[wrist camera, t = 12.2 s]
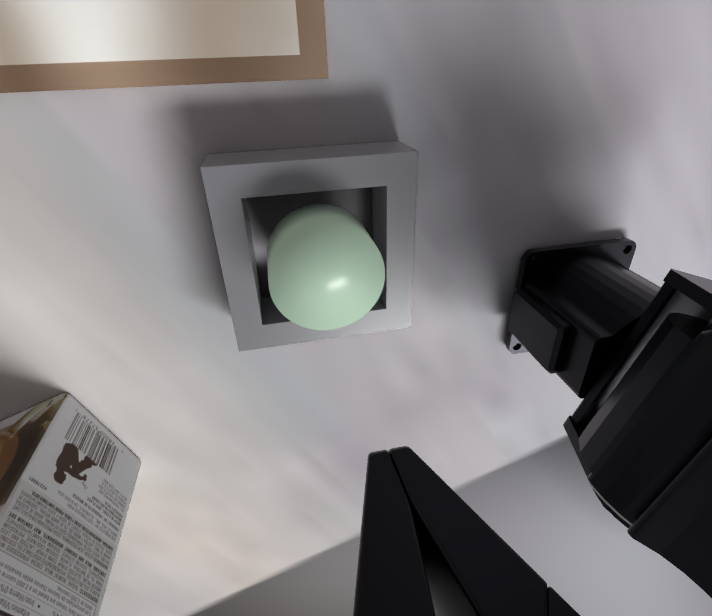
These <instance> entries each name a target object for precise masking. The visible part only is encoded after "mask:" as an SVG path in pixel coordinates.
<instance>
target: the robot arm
mask: <svg viewBox="0 0 712 616" xmlns="http://www.w3.org/2000/svg"><path fill="white" fill-rule="evenodd" d="M625 247H626V248H625ZM624 248H625V249H624ZM635 249H636V243H635V242H634V241H632V240H630V239H628V238H622V239H613V240H605V241H596V242H587V243H579V244H570V245H561V246H553V247H544V248H536V249H530V250H528V251H526V252H525V253H524V254H523V256H522V259H521V264H520V270H519V275H518V281H517V286H516V290H515V292H514V296H513V302H512V307H511V313H510V318H509V324H508V336H507V341H506V347H507V349H508V350H509V351H510V352H511V353H513V354H517V353H523V352H530V353H531V354H532V355H533V357H534V358H535V359H536V360H537V361H538V362H539V363H540V364H541V365H542V366H543V367H544V368H545V369H546V370H547V371H548V372H549V373H550V374H551V373H556V374H557V375H558V376H559V377H560V378H561V379H562V380H563V381H564V382H565V383H566V384H567V385H568V386H569V387H570V388H571V389H572V390H573V391H574V393H575V394H576V395H577V396H578V397H579V398H584V399H583V401H582V402H581V403H580V405H579V406H578V408H577V409H576V411H575V412H574V413H573V415H572V416H569V417H568V418H567V420H566V421H565V423H564V424H563V426H564V428H565V430H566V432H567V434H568V437H569V439H570V441H571V443H572V445H573V447H574V449H575V451H576V454H577V456H578V458H579V460H580V462H581V465H582V467H583V469H584V471H585V473H586V475H587V478H588V480H589V483H590V485H591V487H592V488H593V490H594V492H595V494H596V495H597V497H598V499H599V500H600V501H601V503H602V504H603V506H604V507H605V508H606V509H607V510H608V511H609V512H610V513H612V515H613V516H614V517H615V518H616V519H618V520H619V521H620V522H621V523H622V524H624V525H625V526H626V527H627V528H629V529H628V530H627V531H628V533H629V535H630V536H631V537H632V538H633V539H635V540H637V541H638V542H640V543H642V544H643V545H645V546H647V547H648V548H650V549H652V550H653V551H655V552H657V553H658V554H660V555H661V556H663V557H664V558H665V559H666V560H668V561H669V562H671V563H672V564H673V565H674V566H676V567H677V568H678V569H680V570H681V571H682V572H684V573H685V574H686V575H687V576H688V577H689V578H690V579H692V580H693V581H694V582H695V583H696V584H697V585H698V586H699V587H701V588H702V589H703V590H704V591H705V592H706V593H707V594H708V595H709V596H710V597H711V598H712V280H709V279H706V278H702V277H699V276H695V275H692V274H688V273H685V272H681V271H678V270H674V269H671V270H670V271H669V273H668V274H667V275H666V277H665V278H664V280H663V281H665V283H664V284H663V286H662V287H659V286H657V285H656V284H654V283H652V282H650V281H648V280H647V279H645V278H643V277H641V276H640V275H638V274H636V273H634V272H633V271H631V270H629V267H630V264H631V261H632V258H633V255H634V252H635ZM534 256H535V258H534V260H533V261H531V262H530V260H531V258H532V257H534ZM515 344H517V345H515ZM514 345H515V346H514ZM353 616H580V615H579V614H578V613H577V612H576V611H575V610H574V609H572V607H571V606H570V605H569V604H568V603H567V602H566V601H564V600H563V598H561V597H560V596H559V594H558V593H556V592H555V590H553V588H551V587H548V588H547V583H546V582H545V581H544V580H543V579H542V578H541V577H540V576H539V575H538V574H537V573H536V572H535V571H534V570H533V569H532V568H531V567H530V566H529V565H528V564H527V563H526V562H525V561H524V560H523V559H522V558H521V557H520V556H518V554H517V553H516V552H515V551H514V550H513V549H512V548H511V547H510V546H509V545H508V544H507V543H506V542H505V541H504V540H503V539H502V538H501V537H500V536H499V535H497V533H495V531H494V530H492V529H491V528H490V527H489V526H488V525H487V524H486V523H485V522H484V521H483V520H482V519H481V518H480V517H479V516H478V515H477V514H476V513H475V512H474V511H473V510H472V509H471V508H470V507H469V506H468V505H467V504H466V503H465V502H464V501H463V500H462V499H461V498H460V497H459V496H458V495H457V494H456V493H455V492H454V491H453V490H452V489H451V488H450V487H449V486H448V485H447V484H446V483H445V482H444V481H443V480H442V479H441V478H440V477H439V476H438V475H437V474H436V473H435V472H434V471H433V470H432V469H431V468H430V467H429V466H428V465H427V464H426V463H425V462H424V461H423V460H422V459H421V458H420V457H419V456H418V455H417V454H416V453H415V452H414V451H413V450H412V449H410V448H409V447H407V446H403V447H398V448H392V449H390V450H389V452H388V451H387V450H382V451H376V452H371V453H370V454H369V455H368V463H367V473H366V484H365V494H364V505H363V515H362V526H361V536H360V548H359V557H358V568H357V579H356V589H355V599H354V610H353Z"/></svg>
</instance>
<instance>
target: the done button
mask: <svg viewBox="0 0 712 616" xmlns="http://www.w3.org/2000/svg"><path fill="white" fill-rule="evenodd" d="M267 268H268V284H269V291H270V295H271V298H272V300H273V302H274V304H275V306H276V307H277V309H278V310H279V311H280V312H281V313H282V314H283V315H284V316H285V317H286V318H287V319H289V320H290V321H291V322H293V323H295V324H297V325H299V326H302V327H305V328H308V329H314V330H333V329H338V328H341V327H345V326H347V325H350V324H352V323H354V322H355V321H357V320H359V319H360V318H362V317H363V316H364V315H365V314H367V313H368V312H369V311H370V310H371V308H372V307H373V306H374V305H375V303H376V302H377V300H378V299H379V297H380V295H381V292H382V289H383V286H384V281H385V266H384V262H383V258H382V256H381V253H380V252H379V250H378V248H377V246H376V245H375V243H374V242H373V240H372V239H371V237H370V235H369V234H368V232H367V231H366V229H365V228H364V226H363V225H362V223H361V222H360V221H359V220H358V219H357V218H356V217H355V216H354V215H353V214H352V213H350V212H349V211H347V210H345V209H343V208H341V207H338V206H335V205H331V204H323V203H320V204H310V205H306V206H302V207H300V208H298V209H295V210H293V211H292V212H290V213H289V214H287V215H286V216H285V217H284V218H282V220H281V221H280V222H279V223H278V224H277V225H276V227H275V228H274V230H273V232H272V233H271V236H270V238H269V241H268V246H267Z"/></svg>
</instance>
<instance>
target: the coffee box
mask: <svg viewBox="0 0 712 616" xmlns="http://www.w3.org/2000/svg"><path fill="white" fill-rule="evenodd" d="M140 465H141V461H140V460H139V459H138V458H137V457H136V456H135V455H134V454H133V453H132V452H131V451H130V450H129V449H128V448H126V447H125V446H124V445H123V444H122V443H121V442H120V441H119V440H118V439H117V438H116V437H115V436H114V435H113V434H112V433H111V432H110V431H109V430H107V429H106V428H105V427H104V426H103V425H102V424H101V423H100V422H99V421H98V420H97V419H96V418H95V417H94V416H93V415H91V414H90V413H89V412H88V411H87V410H86V409H85V408H84V407H83V406H82V405H81V404H80V403H79V402H78V401H77V400H76V399H74V398H73V397H72V396H71V395H70V394H66V393H62V394H60V395H58V396H55V397H53V398H51V399H49V400H46V401H44V402H42V403H40V404H37V405H35V406H33V407H31V408H29V409H26V410H24V411H22V412H20V413H18V414H16V415H13V416H11V417H9V418H7V419H5V420H3V421H0V616H98V615H99V611H100V607H101V604H102V600H103V597H104V593H105V590H106V586H107V582H108V579H109V575H110V572H111V569H112V565H113V562H114V558H115V555H116V551H117V548H118V543H119V540H120V537H121V533H122V529H123V526H124V522H125V518H126V515H127V511H128V508H129V504H130V501H131V498H132V493H133V490H134V486H135V483H136V479H137V476H138V472H139V469H140Z"/></svg>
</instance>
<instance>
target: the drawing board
mask: <svg viewBox="0 0 712 616" xmlns="http://www.w3.org/2000/svg"><path fill="white" fill-rule="evenodd" d="M325 78H328V67H327V50H326V32H325V15H324V0H0V93H8V92H31V91H53V90H76V89H99V88H121V87H144V86H166V85H189V84H212V83H234V82H257V81H279V80H302V79H325Z"/></svg>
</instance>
